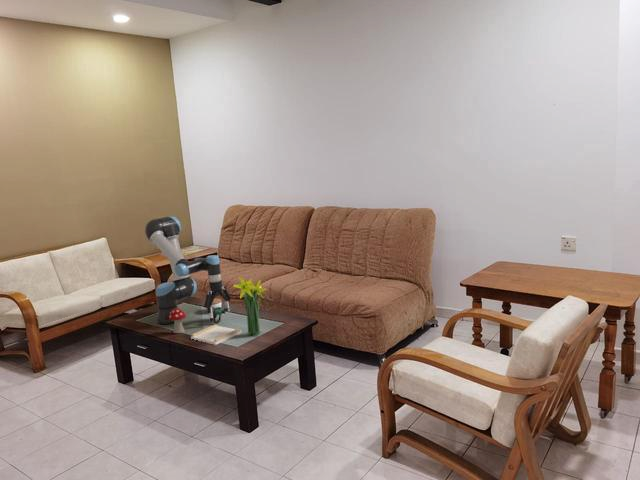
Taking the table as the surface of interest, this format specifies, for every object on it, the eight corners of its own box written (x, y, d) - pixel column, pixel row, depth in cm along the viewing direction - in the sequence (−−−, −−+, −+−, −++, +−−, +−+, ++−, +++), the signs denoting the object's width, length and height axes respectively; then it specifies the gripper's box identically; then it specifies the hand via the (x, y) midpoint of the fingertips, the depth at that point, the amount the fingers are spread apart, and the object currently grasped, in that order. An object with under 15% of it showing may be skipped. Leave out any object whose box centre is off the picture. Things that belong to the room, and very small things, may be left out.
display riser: (190, 339, 287) (190, 334, 286) (217, 328, 303) (216, 323, 302) (215, 344, 275) (215, 340, 275) (241, 332, 291) (240, 328, 291)
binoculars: (225, 325, 307) (223, 309, 305) (208, 325, 309) (207, 309, 308) (230, 320, 316) (229, 304, 314) (214, 320, 318) (213, 304, 316)
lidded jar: (210, 309, 342) (208, 296, 340) (224, 309, 339) (223, 295, 338) (203, 314, 331) (201, 300, 330) (218, 314, 329) (217, 300, 327)
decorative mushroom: (190, 330, 302) (187, 306, 299) (183, 335, 294) (180, 310, 291) (174, 330, 304) (171, 306, 301) (167, 335, 295) (164, 311, 293)
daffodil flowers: (258, 327, 298) (252, 269, 293) (274, 332, 288) (269, 272, 282) (235, 336, 287) (228, 275, 281) (251, 341, 276) (245, 279, 271)
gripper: (203, 286, 296) (208, 321, 299) (234, 276, 316) (238, 309, 319) (195, 285, 300) (199, 319, 304) (225, 275, 320) (229, 308, 324)
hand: (219, 314), depth 311 cm, fingers open, 13 cm apart
